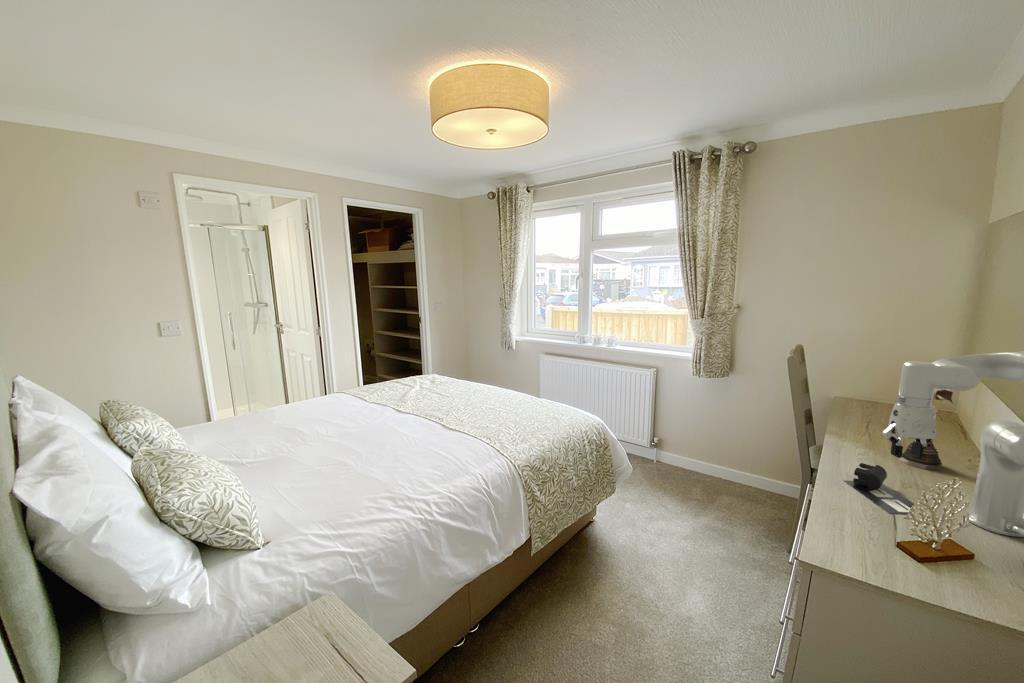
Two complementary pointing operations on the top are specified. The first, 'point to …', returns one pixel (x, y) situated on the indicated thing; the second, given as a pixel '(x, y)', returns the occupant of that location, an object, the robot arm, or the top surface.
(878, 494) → the far label
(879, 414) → the top surface
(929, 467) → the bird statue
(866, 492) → the label panel
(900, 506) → the near label
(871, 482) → the end cap
